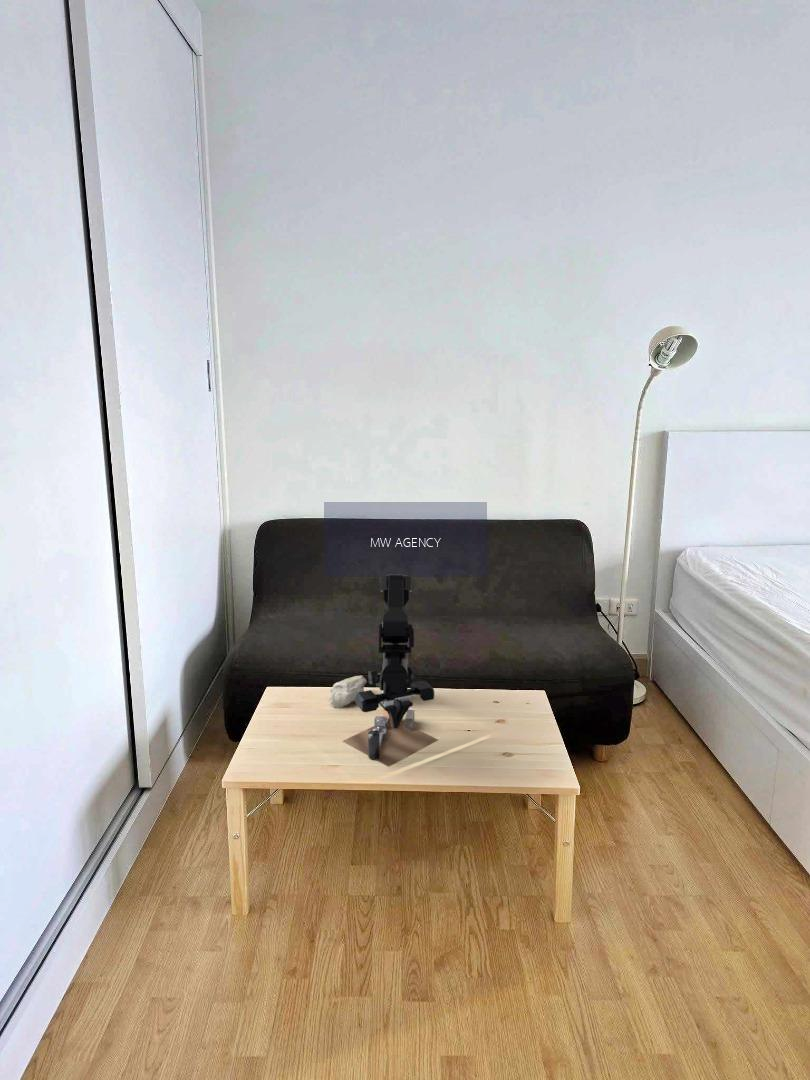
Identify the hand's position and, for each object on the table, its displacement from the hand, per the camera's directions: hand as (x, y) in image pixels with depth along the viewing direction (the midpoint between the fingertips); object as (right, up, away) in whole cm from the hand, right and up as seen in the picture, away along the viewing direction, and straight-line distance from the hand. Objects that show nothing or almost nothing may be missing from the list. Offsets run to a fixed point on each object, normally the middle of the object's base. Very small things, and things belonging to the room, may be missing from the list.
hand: (395, 727), depth 179 cm
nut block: (-1, -3, +17) cm, 18 cm away
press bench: (0, -6, +9) cm, 11 cm away
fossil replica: (-14, -1, +30) cm, 34 cm away
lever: (-5, -5, +7) cm, 10 cm away
